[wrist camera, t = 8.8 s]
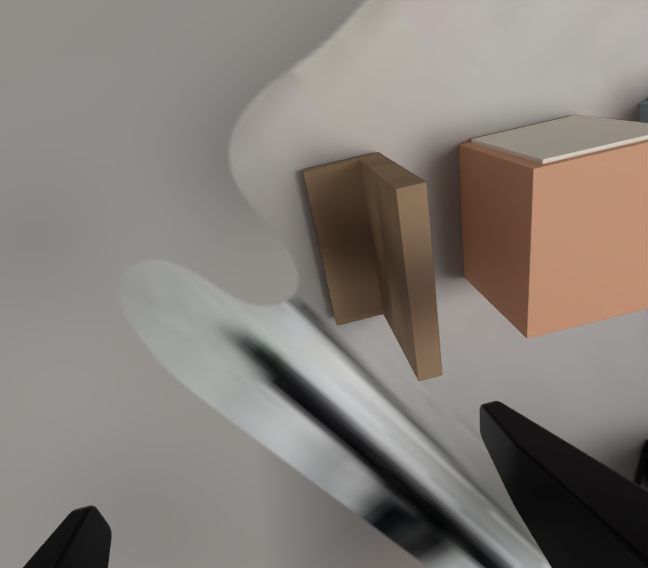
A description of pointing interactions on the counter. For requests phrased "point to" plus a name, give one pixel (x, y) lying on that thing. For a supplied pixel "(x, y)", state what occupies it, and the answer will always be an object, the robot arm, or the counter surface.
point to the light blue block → (643, 112)
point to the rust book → (558, 221)
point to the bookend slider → (378, 250)
